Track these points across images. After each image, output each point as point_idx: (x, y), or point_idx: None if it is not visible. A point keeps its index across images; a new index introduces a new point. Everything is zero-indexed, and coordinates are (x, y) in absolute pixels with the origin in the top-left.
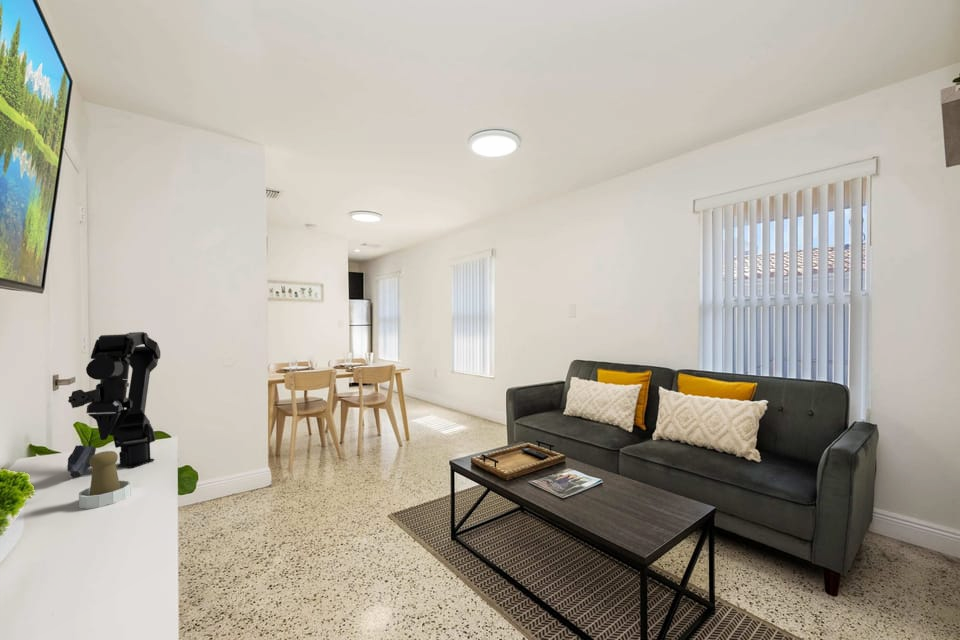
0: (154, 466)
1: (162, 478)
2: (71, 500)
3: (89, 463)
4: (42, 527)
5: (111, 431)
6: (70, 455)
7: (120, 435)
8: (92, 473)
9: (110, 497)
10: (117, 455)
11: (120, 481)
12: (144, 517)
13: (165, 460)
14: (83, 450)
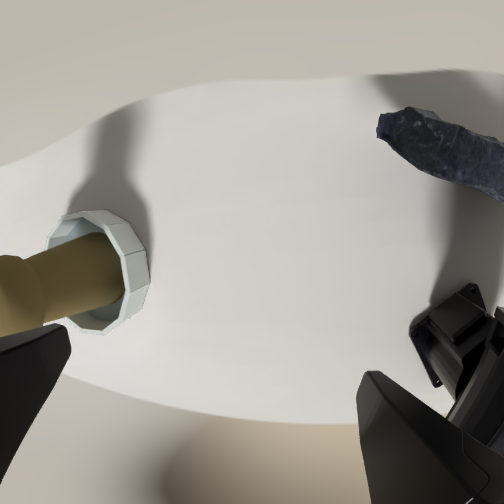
0: None
1: (192, 398)
2: (153, 179)
3: (2, 255)
4: (34, 170)
5: (370, 404)
6: (419, 112)
7: (488, 373)
8: (31, 256)
9: None
10: None
11: (120, 313)
12: None
13: None
14: (427, 171)
